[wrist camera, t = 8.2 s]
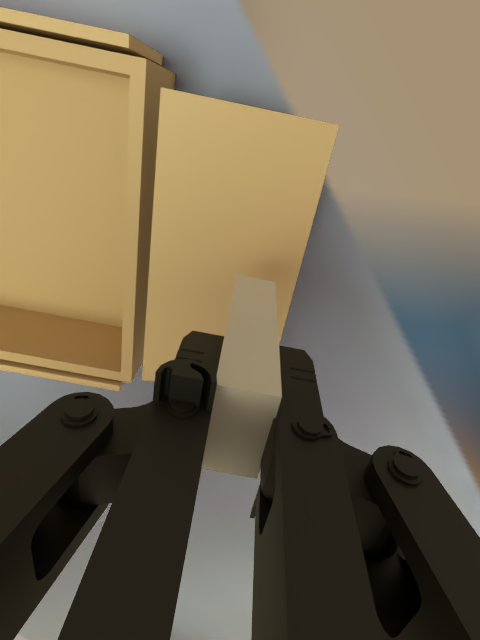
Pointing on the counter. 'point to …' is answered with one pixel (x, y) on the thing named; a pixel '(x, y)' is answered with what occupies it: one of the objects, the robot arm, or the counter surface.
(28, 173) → the tan shallow open box
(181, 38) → the counter surface
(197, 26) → the counter surface
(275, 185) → the flap
